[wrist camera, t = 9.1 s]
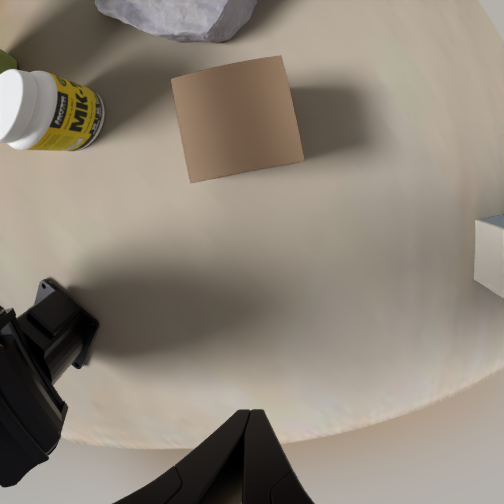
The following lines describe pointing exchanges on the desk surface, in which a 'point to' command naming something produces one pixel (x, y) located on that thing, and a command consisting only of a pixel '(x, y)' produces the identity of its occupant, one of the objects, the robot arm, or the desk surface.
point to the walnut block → (236, 119)
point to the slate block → (490, 253)
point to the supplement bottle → (47, 112)
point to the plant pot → (7, 62)
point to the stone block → (182, 17)
